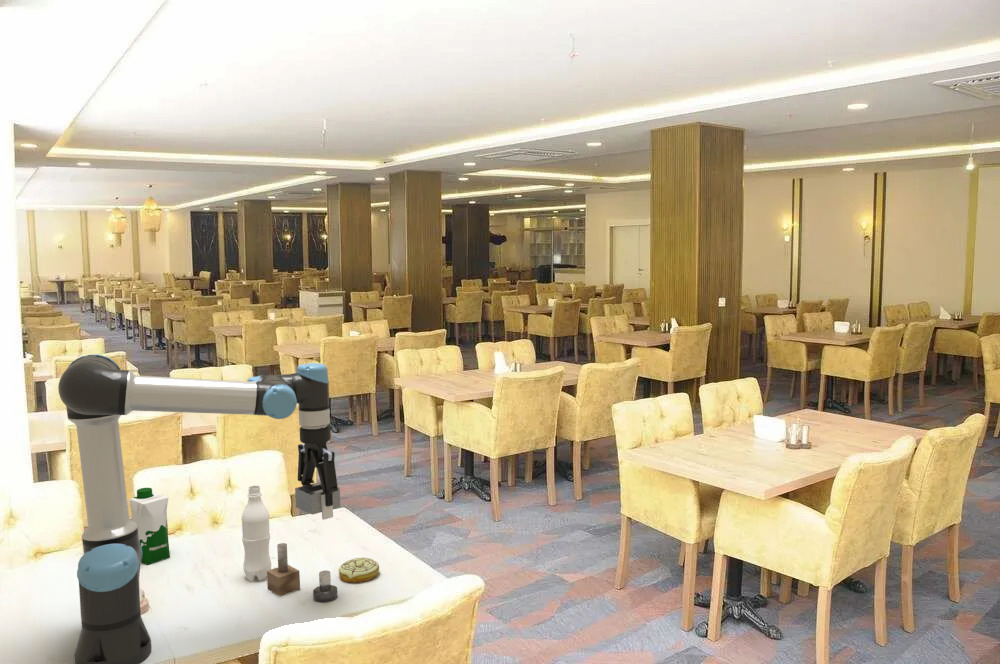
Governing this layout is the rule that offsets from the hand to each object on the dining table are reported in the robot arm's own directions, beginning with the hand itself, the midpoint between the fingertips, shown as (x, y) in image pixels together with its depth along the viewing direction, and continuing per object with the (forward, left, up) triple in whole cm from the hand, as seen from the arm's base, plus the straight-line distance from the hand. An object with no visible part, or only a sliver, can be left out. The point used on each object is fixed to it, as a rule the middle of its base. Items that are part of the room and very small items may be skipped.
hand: (318, 513), depth 204 cm
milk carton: (-21, +57, -22) cm, 64 cm away
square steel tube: (0, 0, +2) cm, 2 cm away
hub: (0, -1, -22) cm, 22 cm away
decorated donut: (+14, +4, -22) cm, 26 cm away
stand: (-5, +11, -22) cm, 24 cm away
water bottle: (-6, +23, -22) cm, 32 cm away
